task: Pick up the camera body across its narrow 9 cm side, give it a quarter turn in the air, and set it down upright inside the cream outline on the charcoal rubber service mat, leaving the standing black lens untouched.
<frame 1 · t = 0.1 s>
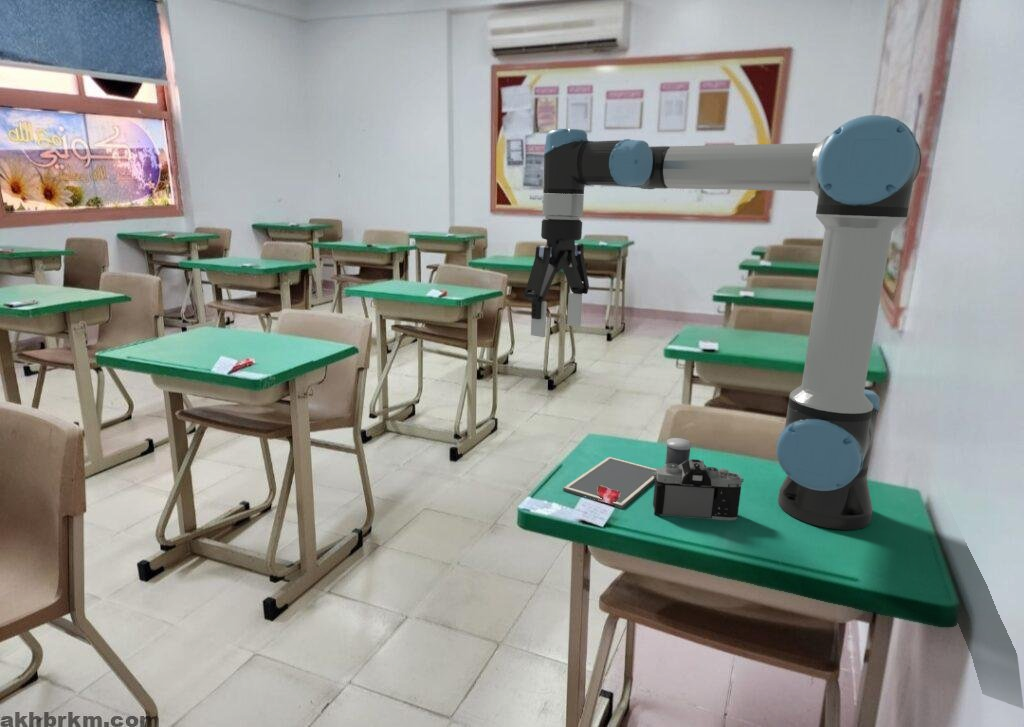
hand: (556, 330, 125), 28 cm above the table, fingers open, 13 cm apart
camera: (692, 510, 115), on the table
lens: (675, 476, 129), on the table
mat: (614, 482, 125), on the table
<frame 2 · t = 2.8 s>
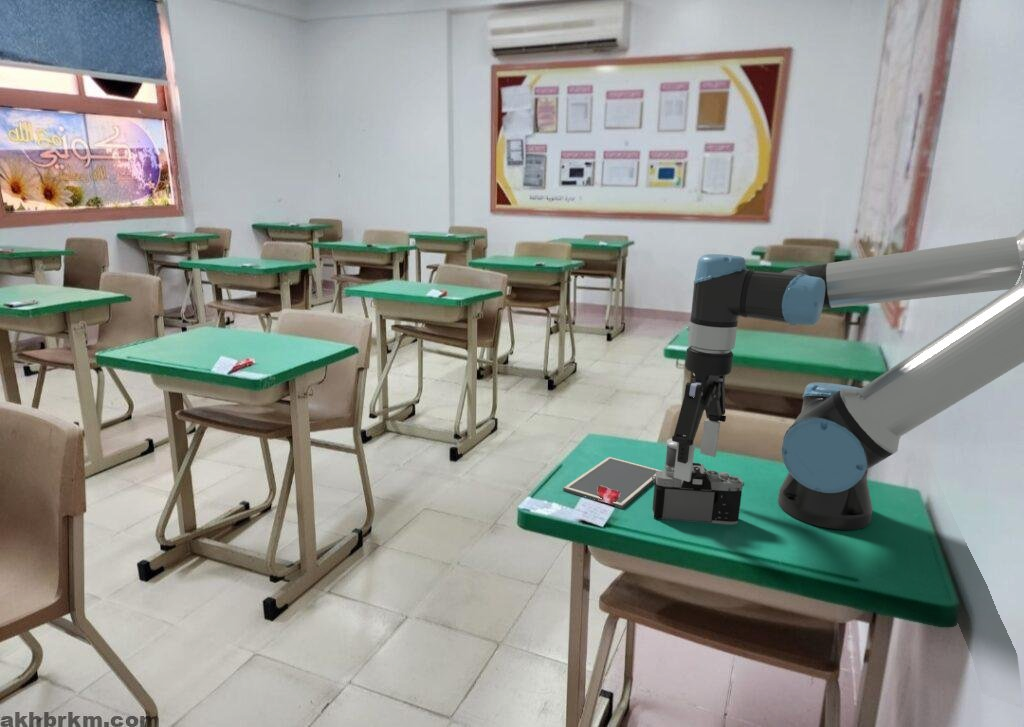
hand: (695, 466, 114), 8 cm above the table, fingers open, 13 cm apart
camera: (693, 514, 114), on the table, touching gripper
everything else where it was.
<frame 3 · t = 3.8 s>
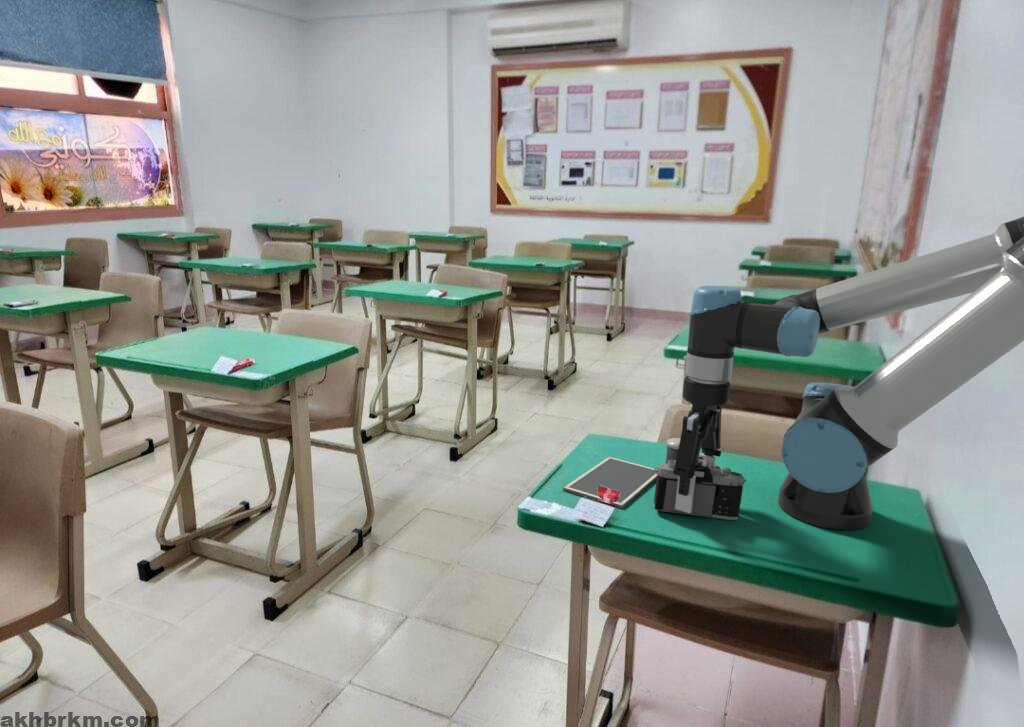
hand: (693, 499, 115), 2 cm above the table, fingers closed on camera, 10 cm apart
camera: (693, 509, 115), on the table, touching gripper
everything else where it was.
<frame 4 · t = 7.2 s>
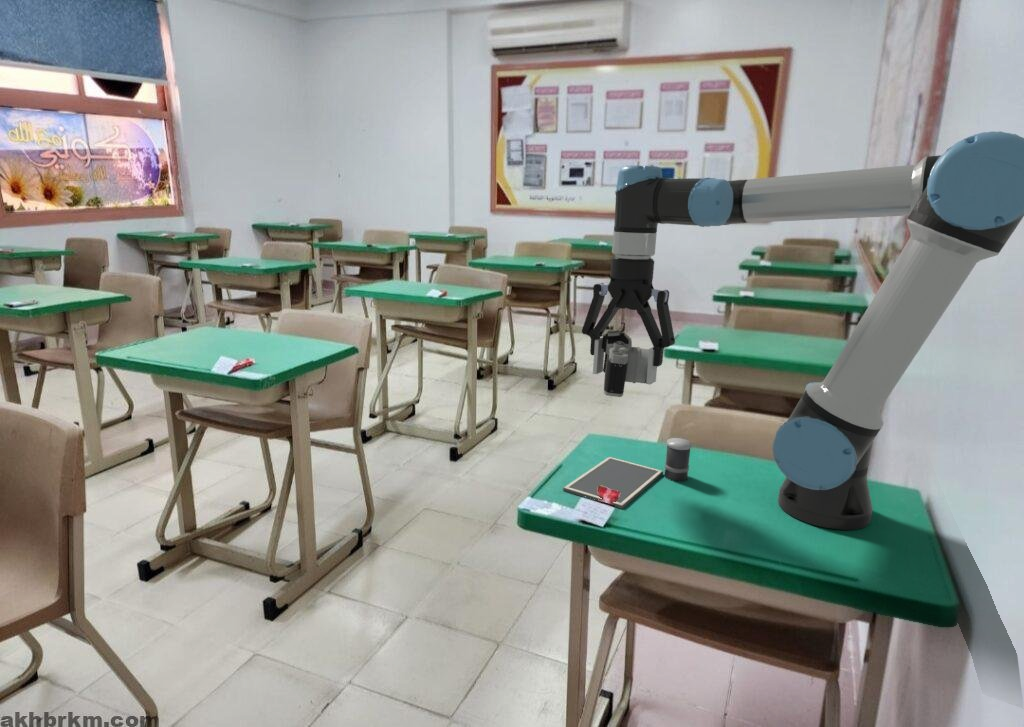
hand: (623, 377, 120), 21 cm above the table, fingers closed on camera, 10 cm apart
camera: (621, 386, 121), point 19 cm above the table, touching gripper
everything else where it was.
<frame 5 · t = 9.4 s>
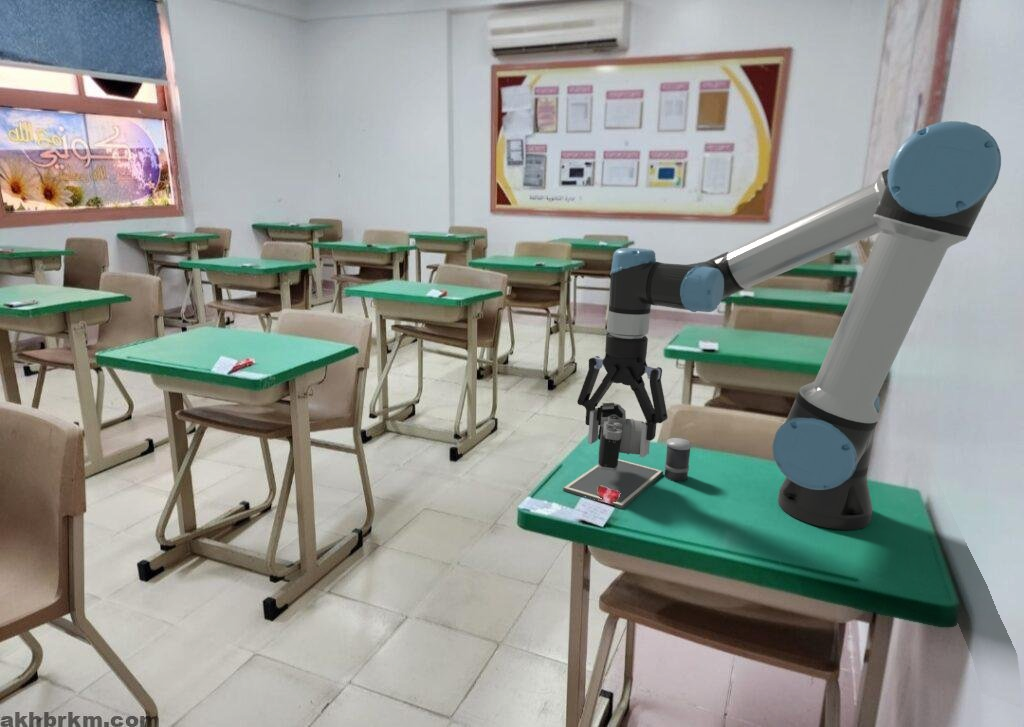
hand: (617, 448, 124), 7 cm above the table, fingers closed on camera, 10 cm apart
camera: (615, 456, 124), point 5 cm above the table, touching gripper
everything else where it was.
when the fingers open (3 cm above the table, at t = 10.8 s): camera drops 1 cm, resting on mat.
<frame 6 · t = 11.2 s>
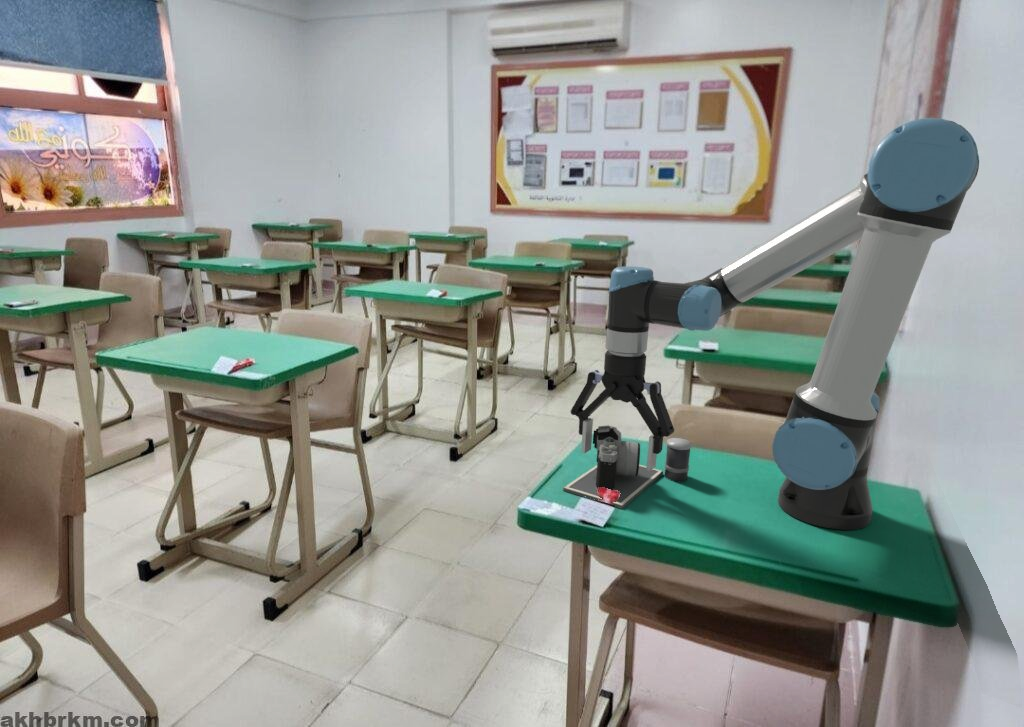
hand: (617, 459, 124), 4 cm above the table, fingers open, 13 cm apart
camera: (613, 478, 126), resting on mat
everything else where it was.
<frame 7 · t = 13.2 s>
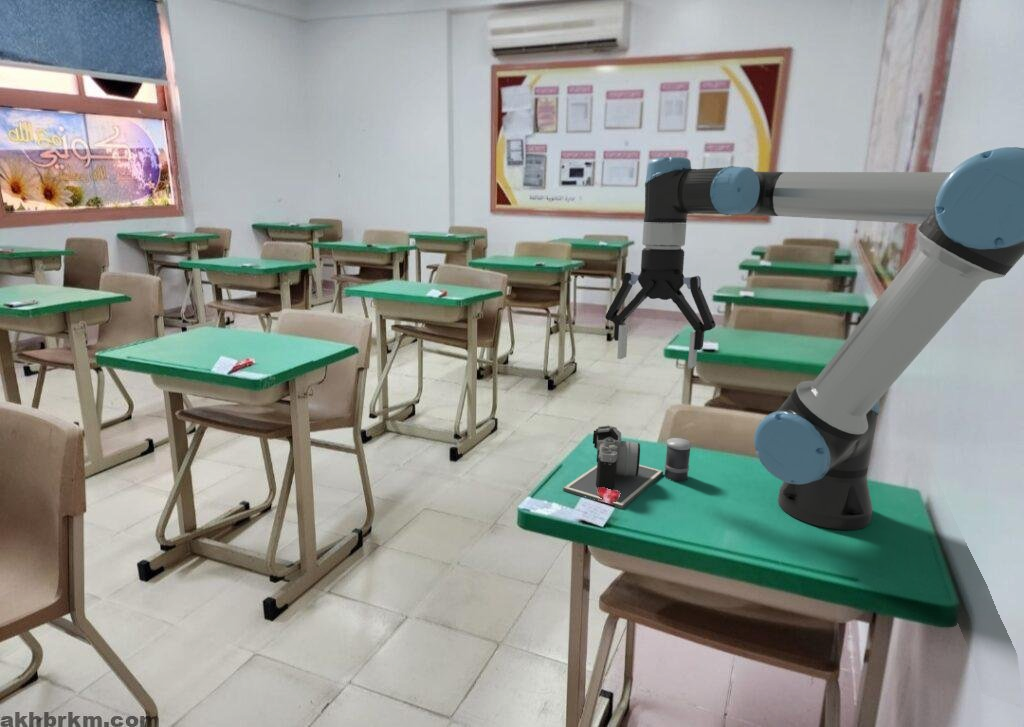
hand: (655, 362, 122), 23 cm above the table, fingers open, 13 cm apart
nothing on the table moved.
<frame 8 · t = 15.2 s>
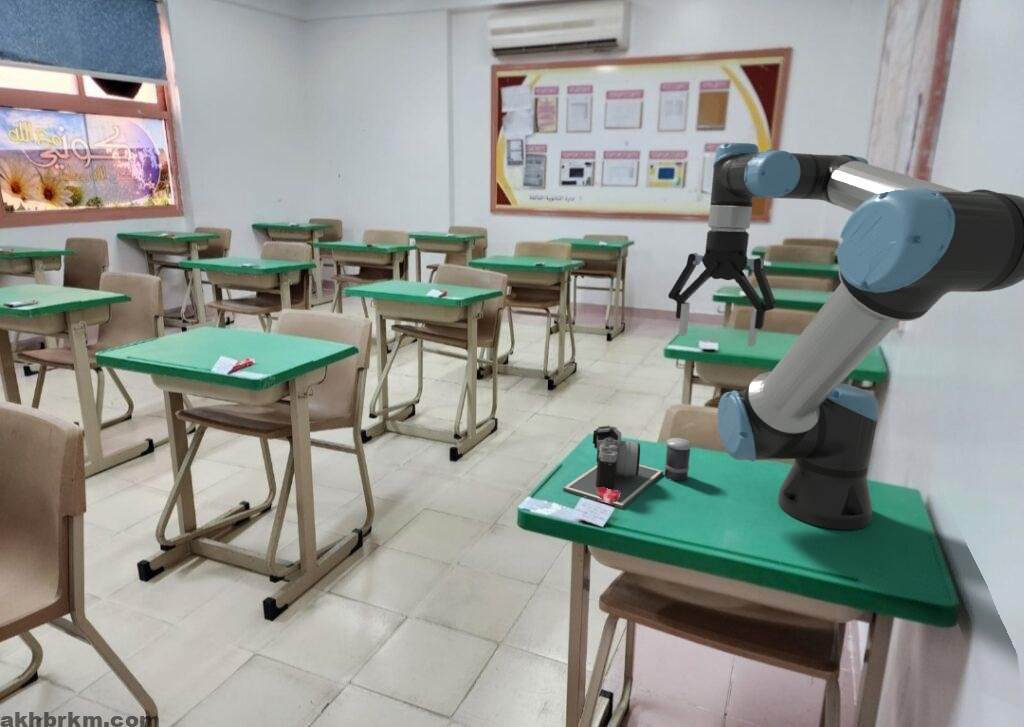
hand: (716, 340, 128), 27 cm above the table, fingers open, 13 cm apart
nothing on the table moved.
at the end: camera inside the target area on the mat (0.6 cm from its centre), point 0.4 cm above the mat's base; camera tilted 1°; the gripper is holding nothing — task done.
